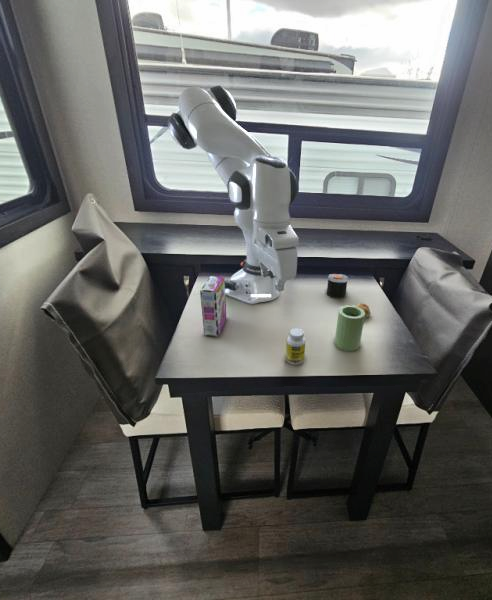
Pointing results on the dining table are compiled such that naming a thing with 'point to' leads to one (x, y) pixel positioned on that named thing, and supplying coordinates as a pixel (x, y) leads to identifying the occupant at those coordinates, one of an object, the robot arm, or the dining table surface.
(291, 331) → the supplement bottle
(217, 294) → the candy bar box
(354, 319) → the green vase
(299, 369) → the dining table surface
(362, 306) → the pastry
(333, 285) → the sushi
